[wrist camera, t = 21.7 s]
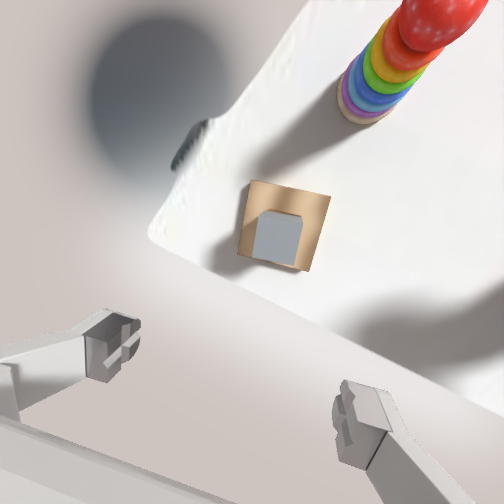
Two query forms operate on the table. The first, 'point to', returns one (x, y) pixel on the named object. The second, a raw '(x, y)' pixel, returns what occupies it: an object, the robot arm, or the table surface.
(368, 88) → the stacking toy
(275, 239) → the slate block
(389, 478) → the robot arm
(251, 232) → the base board
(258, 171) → the table surface
